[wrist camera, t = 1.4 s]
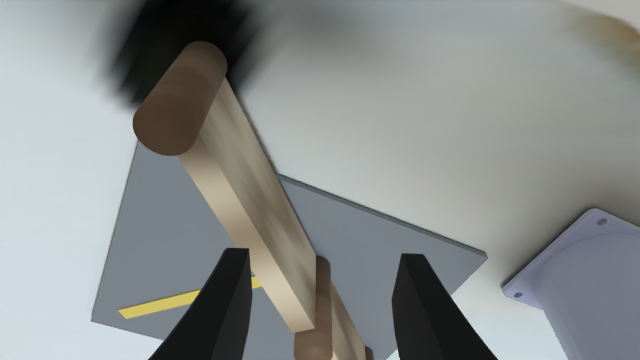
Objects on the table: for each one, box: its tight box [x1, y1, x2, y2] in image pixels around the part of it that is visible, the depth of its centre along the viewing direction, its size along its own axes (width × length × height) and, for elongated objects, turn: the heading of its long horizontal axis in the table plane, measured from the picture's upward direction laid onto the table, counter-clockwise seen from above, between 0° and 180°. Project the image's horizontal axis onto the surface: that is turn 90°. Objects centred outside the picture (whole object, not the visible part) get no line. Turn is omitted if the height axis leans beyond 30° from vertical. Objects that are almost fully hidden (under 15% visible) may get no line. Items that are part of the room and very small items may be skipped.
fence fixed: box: [294, 255, 374, 360], centre depth 27 cm, size 12×2×6 cm, turn 20°
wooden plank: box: [133, 41, 316, 333], centre depth 19 cm, size 14×2×6 cm, turn 20°
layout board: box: [91, 141, 488, 360], centre depth 28 cm, size 21×17×1 cm
